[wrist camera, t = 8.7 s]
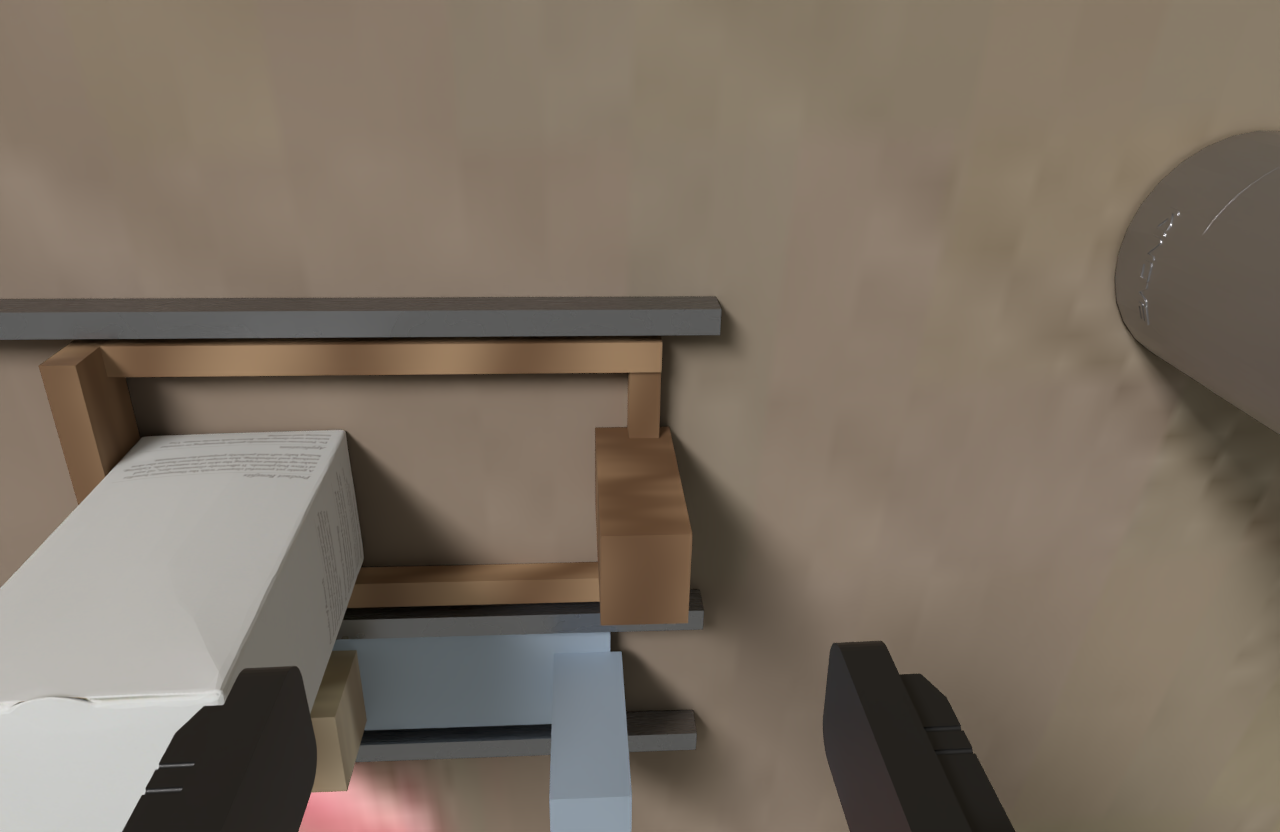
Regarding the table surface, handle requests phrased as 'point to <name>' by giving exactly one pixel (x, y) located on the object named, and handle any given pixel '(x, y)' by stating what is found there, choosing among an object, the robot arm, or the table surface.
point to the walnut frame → (624, 456)
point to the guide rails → (414, 321)
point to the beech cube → (338, 721)
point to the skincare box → (166, 612)
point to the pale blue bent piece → (516, 706)
